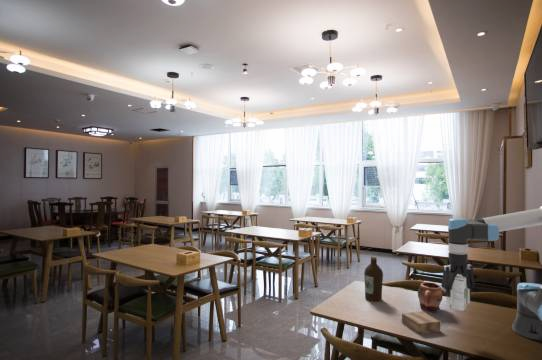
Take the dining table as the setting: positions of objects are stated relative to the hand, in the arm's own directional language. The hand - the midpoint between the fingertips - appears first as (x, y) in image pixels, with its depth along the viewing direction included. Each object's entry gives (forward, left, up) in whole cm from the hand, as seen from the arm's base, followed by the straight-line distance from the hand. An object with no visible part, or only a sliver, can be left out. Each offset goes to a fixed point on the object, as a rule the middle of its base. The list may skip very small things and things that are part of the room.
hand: (458, 302), depth 146 cm
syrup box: (0, 0, -3) cm, 3 cm away
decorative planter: (-8, -30, -16) cm, 35 cm away
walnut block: (+10, -12, -16) cm, 23 cm away
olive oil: (+15, -50, -16) cm, 55 cm away
